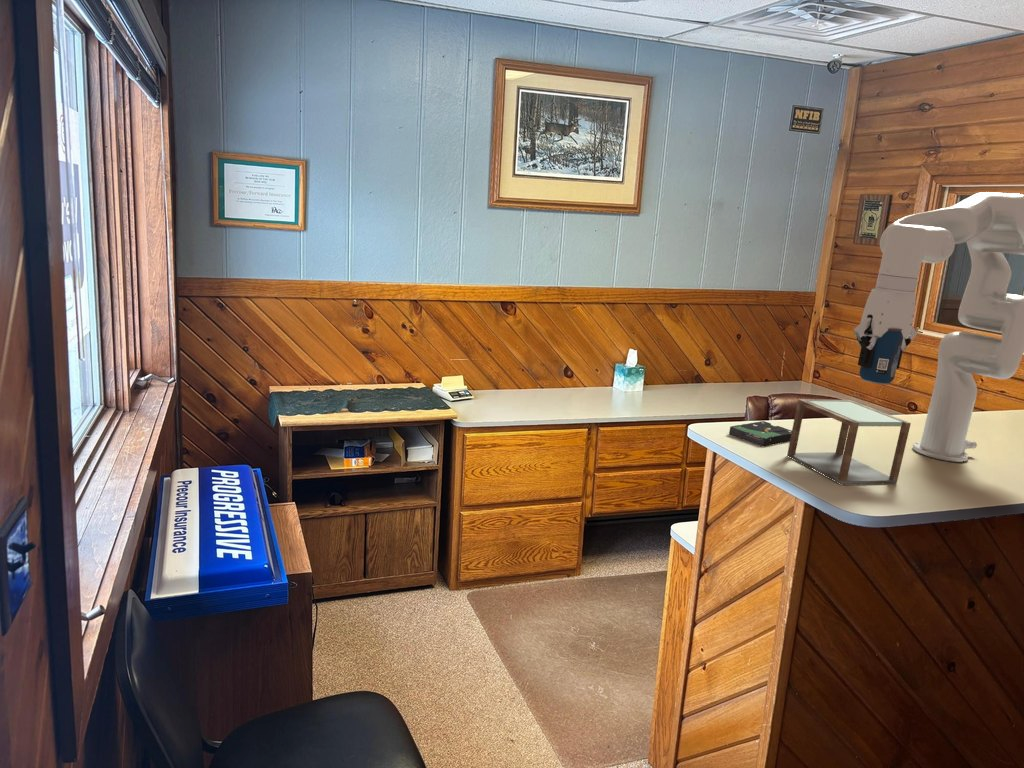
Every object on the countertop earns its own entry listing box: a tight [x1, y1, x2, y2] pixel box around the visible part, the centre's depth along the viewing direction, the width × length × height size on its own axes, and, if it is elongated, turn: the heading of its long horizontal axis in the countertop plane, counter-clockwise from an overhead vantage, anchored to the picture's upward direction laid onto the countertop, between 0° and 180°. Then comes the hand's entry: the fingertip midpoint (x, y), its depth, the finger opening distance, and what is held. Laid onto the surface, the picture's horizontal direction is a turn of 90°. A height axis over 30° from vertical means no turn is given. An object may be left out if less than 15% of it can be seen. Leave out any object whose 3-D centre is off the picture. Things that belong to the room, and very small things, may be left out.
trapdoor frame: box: [786, 398, 912, 485], centre depth 172 cm, size 18×15×14 cm
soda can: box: [858, 329, 903, 386], centre depth 163 cm, size 7×7×12 cm
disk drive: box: [728, 420, 792, 448], centre depth 193 cm, size 10×3×15 cm
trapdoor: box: [808, 401, 902, 427], centre depth 170 cm, size 16×12×1 cm
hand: (878, 366), depth 164 cm, fingers closed on soda can, 6 cm apart
